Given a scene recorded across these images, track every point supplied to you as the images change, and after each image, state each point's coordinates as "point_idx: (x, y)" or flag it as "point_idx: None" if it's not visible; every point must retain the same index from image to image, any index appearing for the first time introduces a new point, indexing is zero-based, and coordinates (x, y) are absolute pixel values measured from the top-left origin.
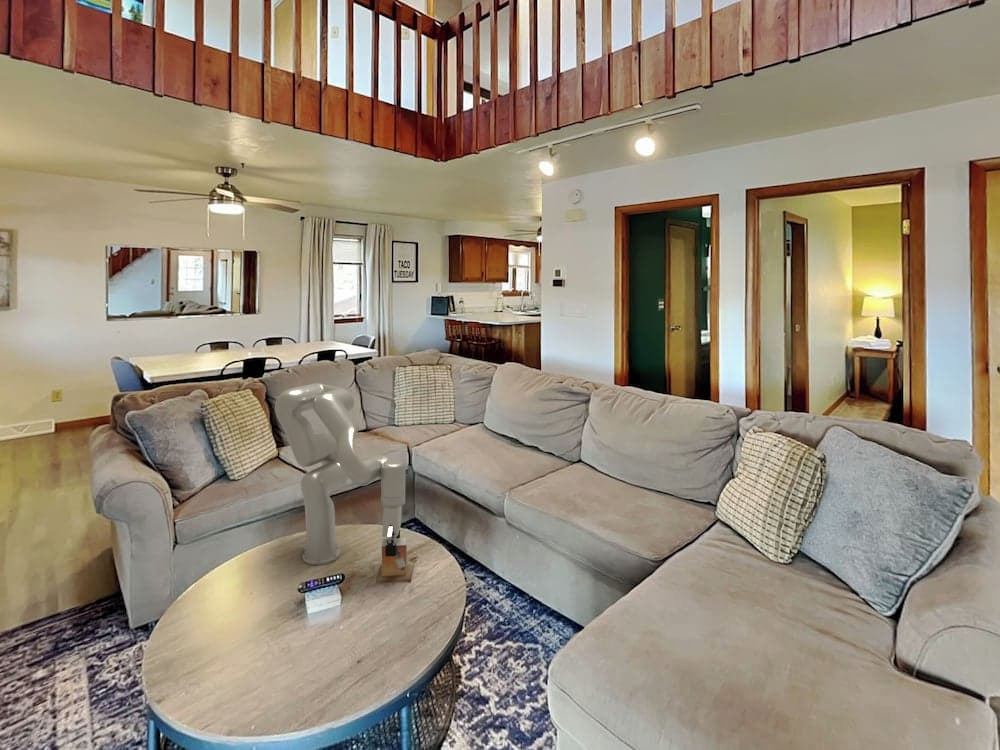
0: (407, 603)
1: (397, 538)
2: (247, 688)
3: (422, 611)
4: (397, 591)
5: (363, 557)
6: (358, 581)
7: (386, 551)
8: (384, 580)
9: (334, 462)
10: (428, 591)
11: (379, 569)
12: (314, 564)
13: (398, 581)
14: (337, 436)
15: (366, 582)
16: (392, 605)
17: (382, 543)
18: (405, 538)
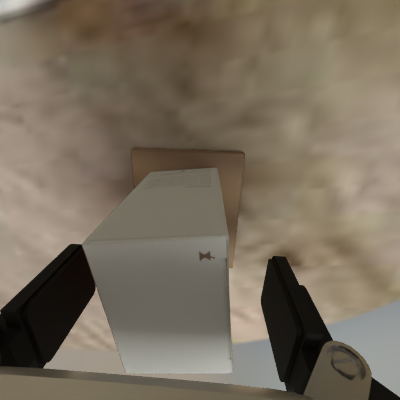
0: (34, 252)
1: (221, 332)
2: None
3: (10, 286)
4: (89, 223)
5: (357, 54)
6: (142, 70)
7: (51, 268)
8: (135, 181)
9: None
10: (99, 297)
11: (209, 154)
12: None
13: None
14: None
15: (136, 108)
16: (15, 215)
17: (134, 245)
18: (214, 371)
